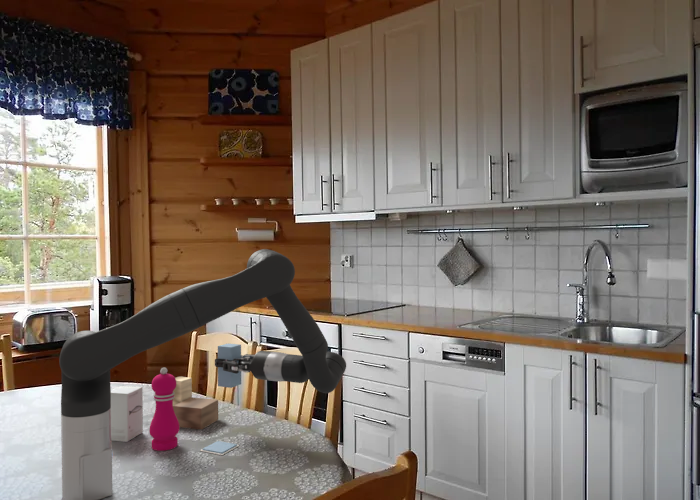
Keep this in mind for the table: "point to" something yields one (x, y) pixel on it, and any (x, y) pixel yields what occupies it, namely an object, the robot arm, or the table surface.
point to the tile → (219, 448)
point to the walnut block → (196, 412)
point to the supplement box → (126, 413)
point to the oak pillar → (182, 389)
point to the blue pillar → (223, 376)
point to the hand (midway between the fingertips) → (221, 360)
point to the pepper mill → (164, 413)
